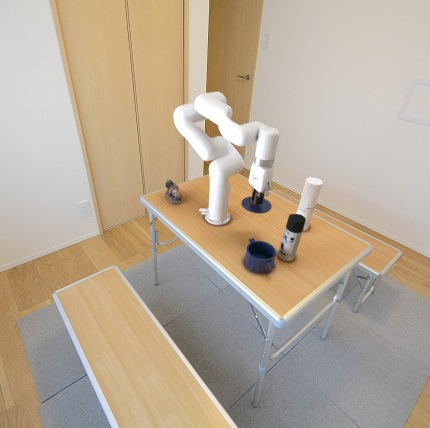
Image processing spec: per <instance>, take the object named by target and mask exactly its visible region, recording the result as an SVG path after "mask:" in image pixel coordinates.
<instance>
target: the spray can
mask: <svg viewBox="0 0 430 428" xmlns="http://www.w3.org/2000/svg"><path fill="white" fill-rule="evenodd" d="M305 222H306V219H305V217H304V216H302V215H300V214H296V213H290V214H289V215H288V217H287V221H286V223H285V228H284V232H283V235H282V239H281V243H280V246H279V250H278V257H279V258H280V259H281V261H284V262H292V261H294V259H295V257H296V254H297V251H298V247H299V244H300V241H301V239H302V235H303V232H304V231H303V229H304V225H305Z"/></svg>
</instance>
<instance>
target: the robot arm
mask: <svg viewBox="0 0 430 428" xmlns="http://www.w3.org/2000/svg"><path fill="white" fill-rule="evenodd" d="M227 103H228V101H227V98H226V96H225V94H224V93H222V92H220V91H211V92H204V93H201V94H199V95H198V96H196V97H195V100H194V102H190V103H185V104H180V105H179V106H178V107H176V108H175V109H174V111H173V122H174V125H175V127H176V129H177V131H178V132H179V133H180V134H181V136H182V137H184V138H185V140H187V142H188V143H189V144H190V145H191V147H192V148H193V149H194V151H195V152H196V153H197V154H198V156H199V157H200V158H201V159H202V160H203V161H204V162H210V161H211V162H210V164H209V166H208V173H209V196H208V197H209V198H208V207H206V208H203V207H199V213H200V214H201V215H203V216H204V219H205V221H206V222H208V223H209V224H211V225H215V226H223V225H226V224H228V223H229V222H230V220H231V215H230V213H229V206H230V196H231V183H230V181H229V178H230V177H232V176H235V175H237V174H239V173H241V172H242V171H243V170H244V168H245V161H244V158H243V157H242V155H241V153H240V152H239V151H238V150H237V148H235V146H238V147H247V146H248V145H252V144H256V146H255V153H254V159H253V162H252V164H251V167H250V172H249V177H248V183H249V184H250V186H251V187H252V189H251V191H252V192H251V196H252V198H251V200H252V201H254V197H255V191H256V190H257V191H258V196H257V197H256V203H255V204H256V205H259V204H263V199H265V197H269V196H270V190H271V188H272V184H273V177H274V166H275V160H276V155H277V151H278V147H279V142H280V141H279V140H280V136H281V132H280V131H279V129H277V128H276V127H274V126H273V127H272V126H268V125H266V124H265V123H263V122H261V121H257V120H256V121H255V120H254V121H250V122H248V123H247V122H246V123H243V124H238V123H237V122H235V121H234V120H232V119H233V118H232V117H233V115H234V114H233V113H234V112H233V108H232V107H231V106H230V105H228V104H227ZM206 120H209V121H211V122H212V123H214V124H215V125H217V127H218V130H219V132H220V134H221V135H217V136H214V137H210V136H209V135H208V134H207V133H206V131H205V130H204V129H203V128H201V127H200V126H199V125H197V124H196V123H198V122H203V121H206ZM234 145H235V146H234ZM261 192H262V193H261Z"/></svg>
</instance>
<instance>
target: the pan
mask: <svg viewBox="0 0 430 428" xmlns="http://www.w3.org/2000/svg"><path fill="white" fill-rule="evenodd" d="M247 240H248V244H247V246H246V248H245V254H244V266H245V267H246V268H247V269H248V270H249V271H251V272H253V273H254V274H255V273H256V274H267V273H269V272H271V271H272V270H273V269H274V268H275V269H276V265H275V261H276V257H277V250H276V248H275V247H274V245H272V244H271V243H269V242H267V241H263V240H256V239H255V238H254V237H251V238H248V239H247Z"/></svg>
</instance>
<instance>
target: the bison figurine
mask: <svg viewBox="0 0 430 428" xmlns="http://www.w3.org/2000/svg"><path fill="white" fill-rule="evenodd" d="M165 188H166V189H167V190H166V192H165V193H164V195H165V197H167V198H168V199H169V202H171V203H172V204H181V203H183V196H182V193H181V190H180V188H179V186H178V184H177V183H176V182H173V180H172V179H166V182H165Z"/></svg>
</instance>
